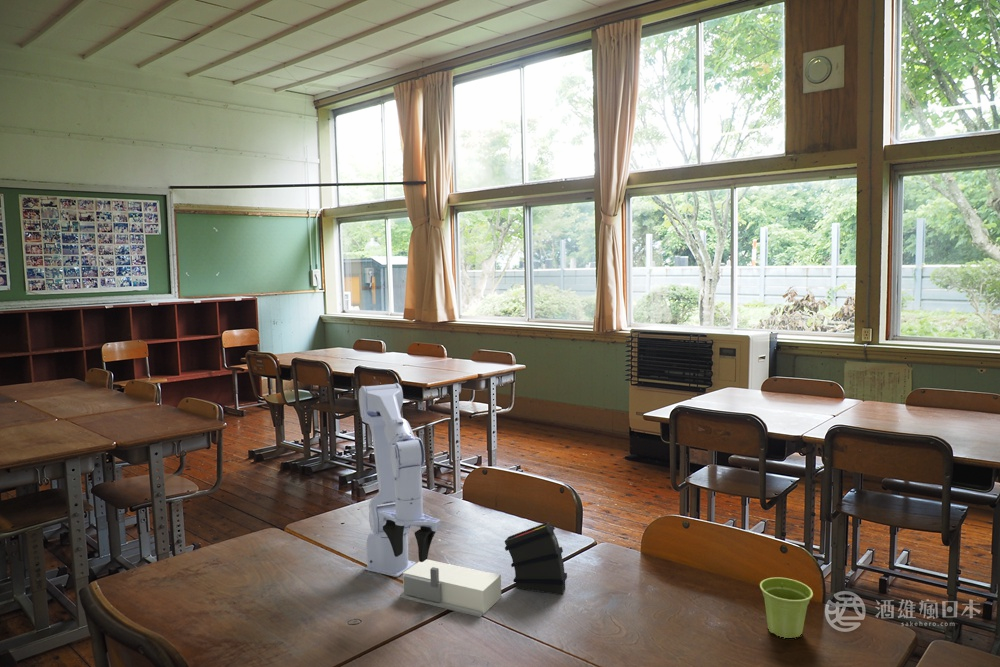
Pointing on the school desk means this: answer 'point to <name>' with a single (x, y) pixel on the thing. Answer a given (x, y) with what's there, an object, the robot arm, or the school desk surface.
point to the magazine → (537, 560)
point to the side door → (424, 586)
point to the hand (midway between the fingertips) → (410, 557)
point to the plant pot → (785, 605)
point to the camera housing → (459, 587)
